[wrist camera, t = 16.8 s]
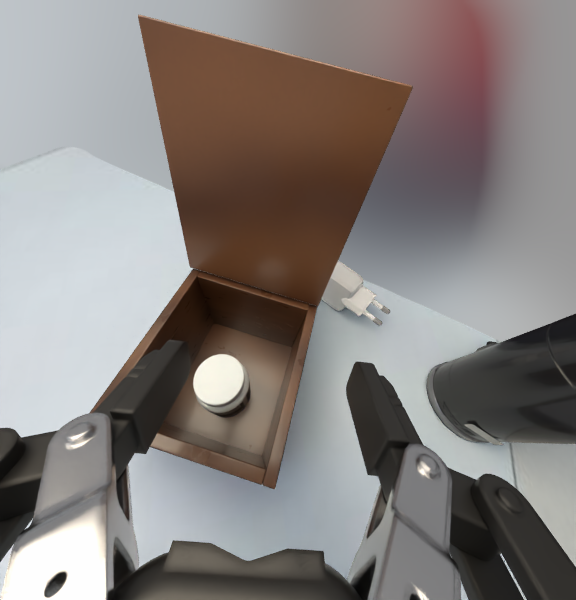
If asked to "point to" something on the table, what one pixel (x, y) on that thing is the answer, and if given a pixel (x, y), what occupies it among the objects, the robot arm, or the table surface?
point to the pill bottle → (222, 385)
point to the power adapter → (350, 293)
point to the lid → (266, 154)
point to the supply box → (250, 353)
